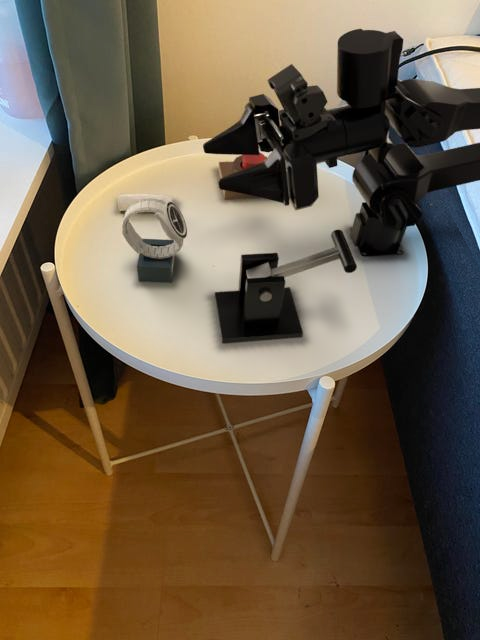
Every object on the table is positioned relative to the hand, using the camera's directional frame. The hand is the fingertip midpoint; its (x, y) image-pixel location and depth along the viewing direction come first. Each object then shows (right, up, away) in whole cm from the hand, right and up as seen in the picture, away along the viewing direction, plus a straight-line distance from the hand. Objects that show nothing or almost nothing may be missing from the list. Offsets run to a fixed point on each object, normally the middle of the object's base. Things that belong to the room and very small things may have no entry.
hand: (210, 165), depth 64 cm
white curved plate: (-11, -1, +20) cm, 22 cm away
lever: (+11, -12, +1) cm, 16 cm away
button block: (+5, +4, +25) cm, 26 cm away
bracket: (+6, -18, +6) cm, 20 cm away
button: (+5, +6, +23) cm, 24 cm away
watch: (-8, -11, +11) cm, 17 cm away
